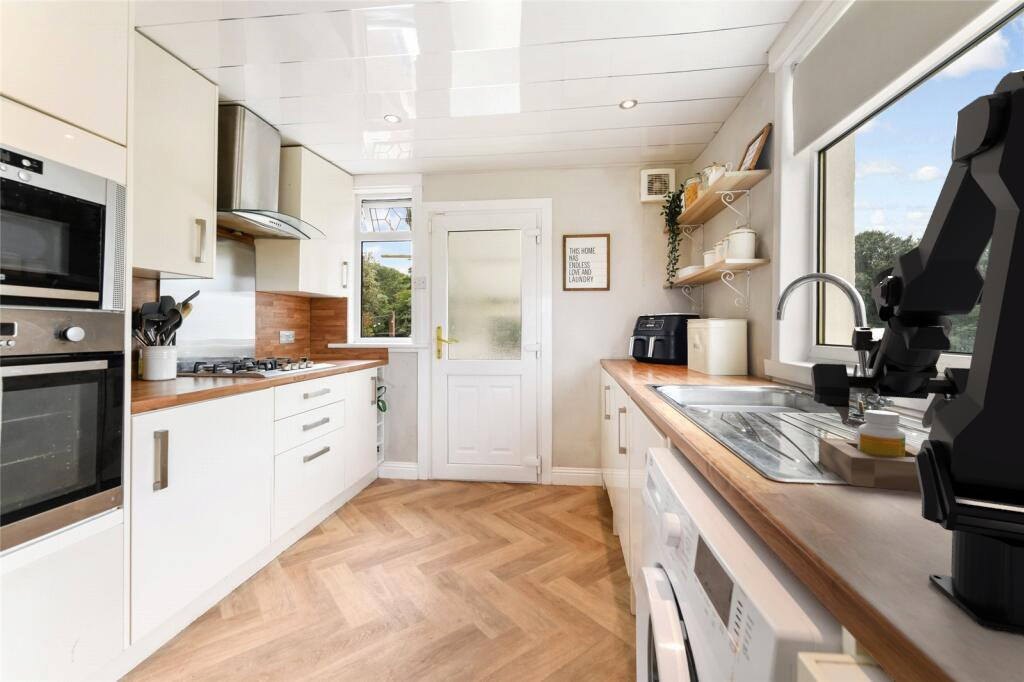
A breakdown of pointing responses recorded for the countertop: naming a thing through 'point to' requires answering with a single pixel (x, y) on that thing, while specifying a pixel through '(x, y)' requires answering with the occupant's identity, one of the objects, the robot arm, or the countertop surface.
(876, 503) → the countertop surface
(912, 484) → the walnut collar
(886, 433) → the supplement bottle
